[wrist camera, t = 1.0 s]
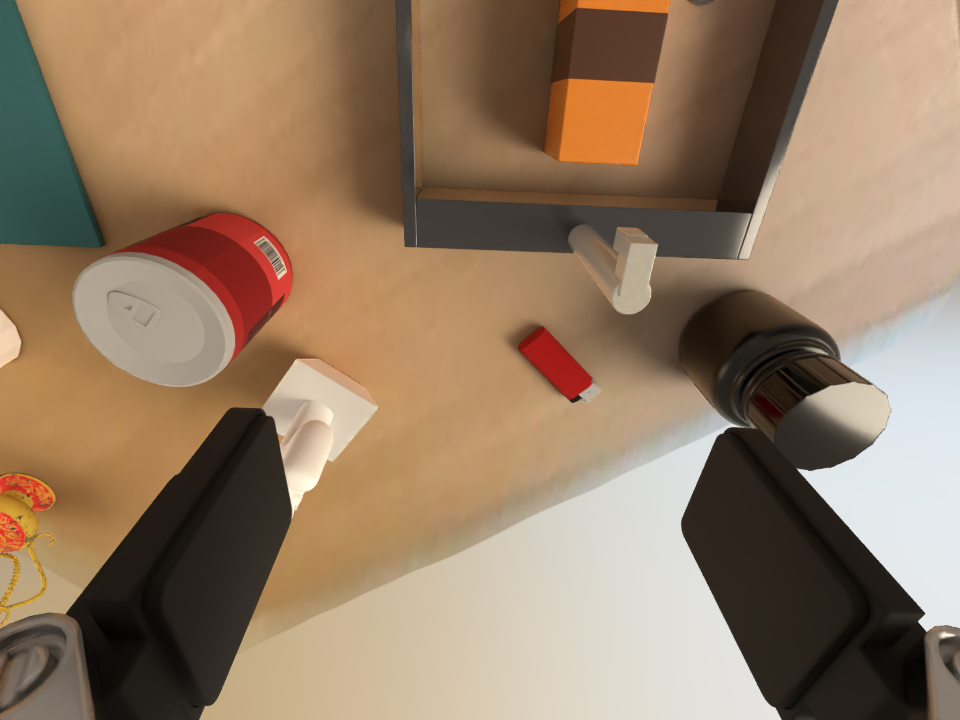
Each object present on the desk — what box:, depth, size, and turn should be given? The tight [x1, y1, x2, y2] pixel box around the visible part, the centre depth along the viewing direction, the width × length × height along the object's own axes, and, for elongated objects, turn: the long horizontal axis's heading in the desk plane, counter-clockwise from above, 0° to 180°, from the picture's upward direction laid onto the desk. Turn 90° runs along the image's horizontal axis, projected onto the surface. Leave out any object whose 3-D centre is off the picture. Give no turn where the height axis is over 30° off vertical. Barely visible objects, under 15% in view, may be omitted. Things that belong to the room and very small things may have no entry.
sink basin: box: [395, 0, 839, 314], centre depth 22 cm, size 20×23×15 cm
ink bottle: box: [680, 292, 891, 471], centre depth 32 cm, size 10×9×12 cm
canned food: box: [72, 213, 293, 387], centre depth 29 cm, size 8×8×11 cm
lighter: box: [518, 327, 601, 403], centre depth 38 cm, size 3×1×8 cm
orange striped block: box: [544, 0, 670, 165], centre depth 25 cm, size 11×5×6 cm, turn 177°
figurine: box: [261, 359, 379, 517], centre depth 33 cm, size 7×9×15 cm
